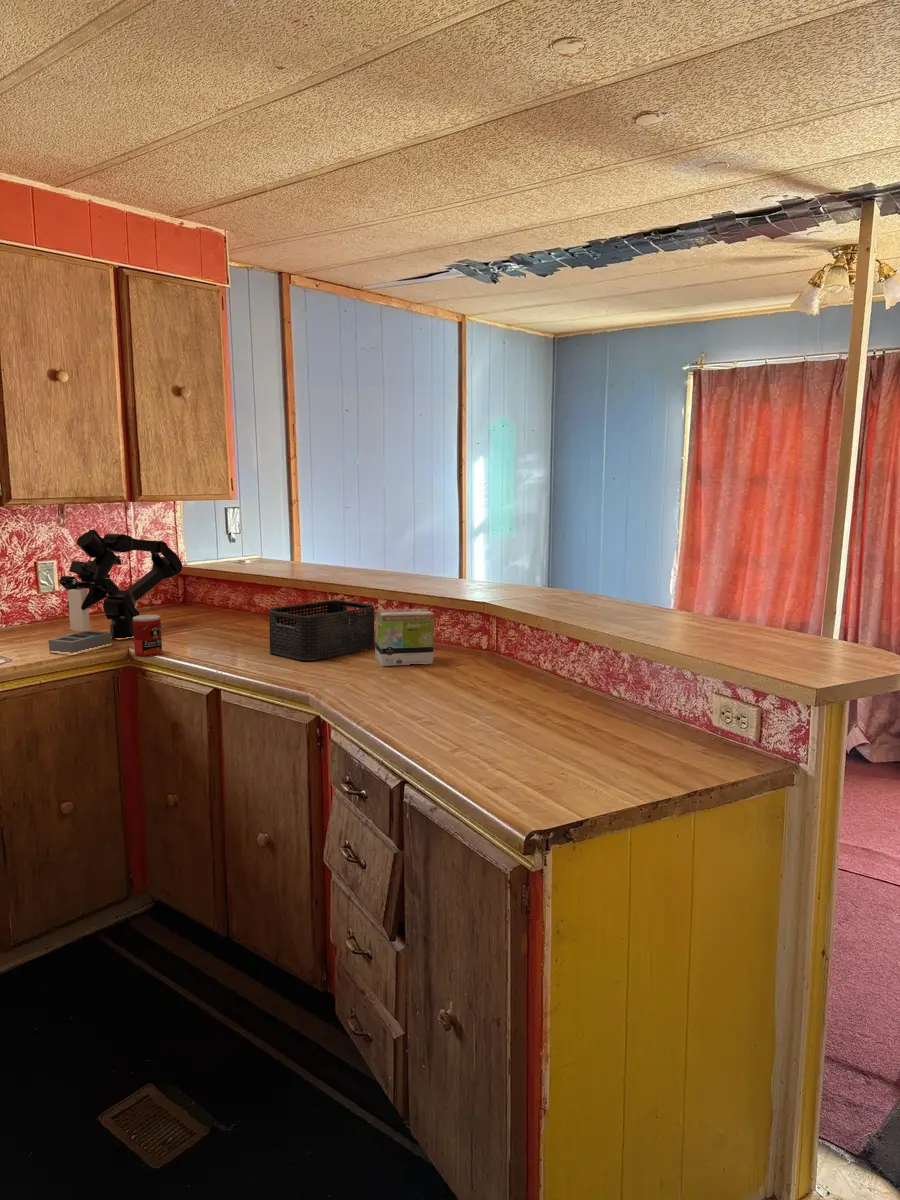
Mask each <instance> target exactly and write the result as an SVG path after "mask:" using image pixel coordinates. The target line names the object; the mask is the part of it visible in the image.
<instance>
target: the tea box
mask: <svg viewBox="0 0 900 1200" xmlns="http://www.w3.org/2000/svg"><path fill="white" fill-rule="evenodd" d="M434 645H435V614H434V613H433V612H431V611H430V610H429V609H428V608H393V609H389V608H388V609H375V642H374V648H375V649H374V650H375V652H374V654H375V655H374V657H375V660H376V661H377V663H378V664H379V665H380V666H381V667H389V666H393V667H394V666H411V665H410V664H421V663H431V662H433V663H434V654H435V653H434V652H435V651H434V650H435V646H434Z"/></svg>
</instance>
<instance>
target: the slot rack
mask: <svg viewBox="0 0 900 1200" xmlns="http://www.w3.org/2000/svg"><path fill="white" fill-rule="evenodd" d="M110 643H113V642H112V638H111V633H110V632H108V631H106V632H105V631H97V630H87V631H79V632H76V633H74V632H73V633H69V634H65V635H64V636H60V637H55V638H51V639H48V651H60V652H70V653H73V652H78V651H81V650H85V649H89V648H94V647H98V646H102V645H106V644H110Z"/></svg>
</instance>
